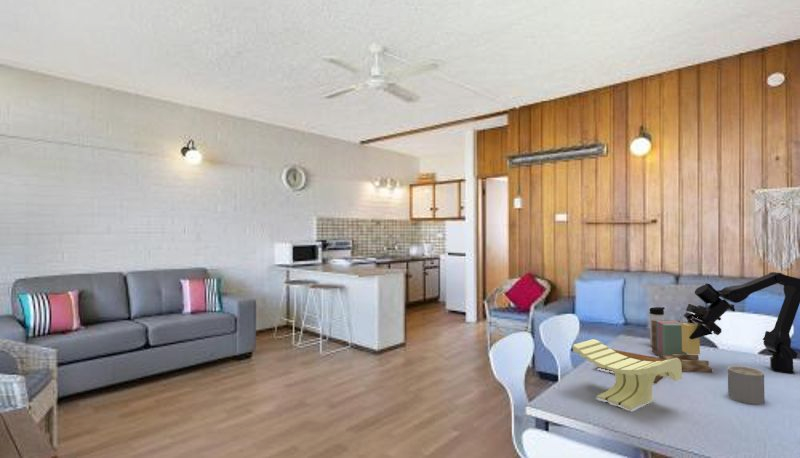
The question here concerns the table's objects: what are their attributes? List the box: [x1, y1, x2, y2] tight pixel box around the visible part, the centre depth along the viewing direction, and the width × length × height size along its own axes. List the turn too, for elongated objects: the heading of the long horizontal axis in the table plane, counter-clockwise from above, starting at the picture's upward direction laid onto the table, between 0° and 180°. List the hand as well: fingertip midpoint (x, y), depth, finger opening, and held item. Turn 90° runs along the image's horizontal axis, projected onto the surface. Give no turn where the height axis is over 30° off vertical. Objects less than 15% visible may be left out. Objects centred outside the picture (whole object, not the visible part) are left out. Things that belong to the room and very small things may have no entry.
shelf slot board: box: [651, 319, 713, 374], centre depth 191 cm, size 12×28×16 cm, turn 171°
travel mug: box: [649, 306, 665, 348], centre depth 214 cm, size 6×7×20 cm
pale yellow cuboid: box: [680, 322, 701, 355], centre depth 181 cm, size 4×5×12 cm
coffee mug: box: [727, 365, 766, 405], centre depth 151 cm, size 13×10×10 cm
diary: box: [597, 349, 668, 384], centre depth 181 cm, size 23×19×6 cm
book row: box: [656, 321, 687, 356], centre depth 199 cm, size 9×9×14 cm
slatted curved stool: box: [572, 338, 683, 410], centre depth 151 cm, size 30×16×18 cm, turn 33°
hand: (686, 337), depth 181 cm, fingers closed on pale yellow cuboid, 5 cm apart
